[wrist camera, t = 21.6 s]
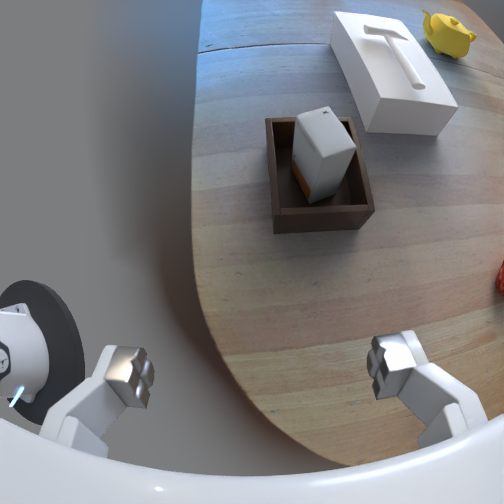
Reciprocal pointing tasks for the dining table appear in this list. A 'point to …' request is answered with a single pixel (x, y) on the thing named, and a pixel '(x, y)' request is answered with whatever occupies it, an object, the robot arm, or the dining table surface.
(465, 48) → the teapot
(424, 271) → the dining table surface
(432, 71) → the hammer relief block
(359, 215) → the holder
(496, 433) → the robot arm
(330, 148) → the cosmetic box
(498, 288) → the decorative stone
